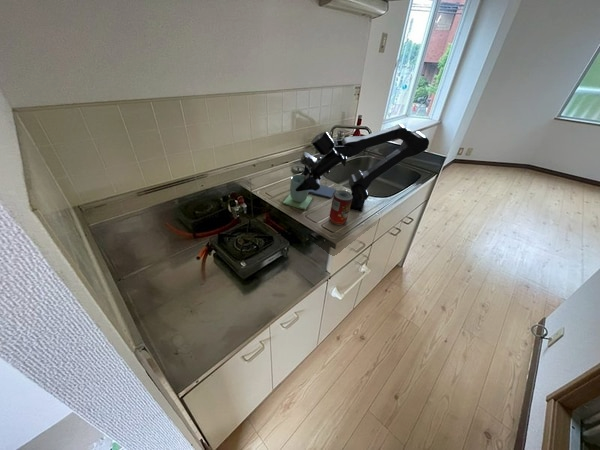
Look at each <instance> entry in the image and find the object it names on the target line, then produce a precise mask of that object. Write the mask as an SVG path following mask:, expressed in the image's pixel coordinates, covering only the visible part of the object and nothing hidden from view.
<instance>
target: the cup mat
mask: <svg viewBox="0 0 600 450" xmlns="http://www.w3.org/2000/svg"><path fill="white" fill-rule="evenodd" d="M312 200H313V197H311V196H309V195H308V196H307V199H306V200H305V201H303V202H295V201H294V200H293V199H292V198H291V195H290V194H288V195H287V197H286V198H285V199H284V200H283V201H282V204H283V205H284V206H285V205H286V206H289V207H293V208H296V209H301V210H303V211H305V210H306V209H307V208H308V206H309V205H310V204H311V201H312Z"/></svg>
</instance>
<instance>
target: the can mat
mask: <svg viewBox="0 0 600 450" xmlns="http://www.w3.org/2000/svg"><path fill="white" fill-rule="evenodd" d="M335 192H336V188H334V187H329V186H326V185H322V184H320V188H319V189H318V190H317V191H314V190H309V192H308V194H311V195H316V196H319V197H323V198H327V199H332V198H333V196H334V193H335Z"/></svg>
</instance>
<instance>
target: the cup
mask: <svg viewBox="0 0 600 450" xmlns="http://www.w3.org/2000/svg"><path fill="white" fill-rule="evenodd" d="M304 176H305V175H301V174H293V175H292V176H291V177H290V182H289V183H290V185H289V195H291V198H292V199H293V200H294V201H295V202H303V201H305V200H306V199H307V196H308V197H309V193H308V192H309V190H304V191H298V192H297V191H296V188H297V187H298V186H299V185H300V184H301V183H302V182H303V181H304Z"/></svg>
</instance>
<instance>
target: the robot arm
mask: <svg viewBox="0 0 600 450" xmlns="http://www.w3.org/2000/svg"><path fill="white" fill-rule="evenodd" d="M398 139H399V140H401V141H402V142H401V143H400V144H399V147H398V148H396V149H394V151H392V152H390V154H388V155H387V156H385V157H383V158H382V159H381V160H379V161H378V162H377V163H375V164H374V165H372V166H371V167H369V168H368V169H367V170H365V171H361V169H357V171H356V172H354V173H352V174H350V175H351V177H349V178H348V185H349V189H350V191H351V194H352V196H353V199H352V202H351V206H350V210H351V211H357V212H359V213H360V212H361V213H363V210H364V206H365V202H366V201H367V200H368V198H369V197H370V195H369V193H368V189H369V187H370V186H371V185H372V183H373V182H374V181H375V180H377V179H378V178H380V177H381V176H382V175H384V174H385V173H387V172H388V171H390V170H391V169H392V168H394V167H395V166H397V165H398V164H400V163H401V162H403V161H404V160H406V159H409V158H413V157H416V156H418V155H420V154H422V153H424V152H426V151H427V150H428V148H429V145H430V140H429V138H428V137H427V136H425V135H424V134H423V133H421V132H420V131H411V130H410V129H408V128H407V127H405V126H404V125H403V124H399V123H398V124H396V125H394V126H390V127H387V128H385V129H382V130H377V131H374V132H372V133H369V134H365V135H359V136H358V135H354V136H347V137H343V138H342V139H332V137H331V136H330V135H329V132H328V131H327V130H325V131H323V132H320V133H318V134H317V135H315V136H314V137H313V139H311V141H310V144H311V145H312V146H313V147H314V149H315V150H316V151H317V153H318V154H319V155H321V156H322V157H321V156H318V157H317V158H316V157H315V156H313V154H310V153H309V152H306V151H304V152H303V154H302V155H301V156H300V162H299V163H301V164H302V165H304V168H303V170H302V172H301V174H300V175H305V176H304V181H303V182H302V183H301V184H300V185H299V186H298V187H297V188H296V191H297V192H298V191H304V190H314V191H317V190H318V189H319V188H320V185H321V182H320V180H322V177H323V176H324V175H326V174H327V175H329V174H330V171H331V170H332V169H334V168H335V167H336V166H338V165H339V164H342V165H343V166H344V167H346V165H347V160H348V159H349V158H352V157H353V158H354V156H357V155H359V154H360V153H362V152H364V150H366V149H368V148H369V149H370V148H372V147H376V146H378V145H382V144H385V143H389V142H392V141H395V140H398Z"/></svg>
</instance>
